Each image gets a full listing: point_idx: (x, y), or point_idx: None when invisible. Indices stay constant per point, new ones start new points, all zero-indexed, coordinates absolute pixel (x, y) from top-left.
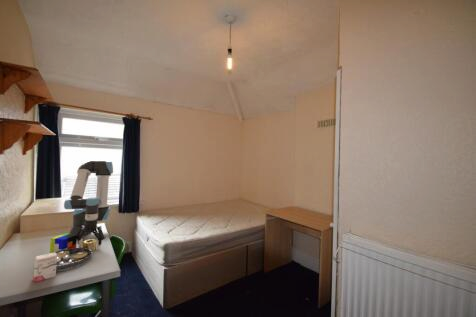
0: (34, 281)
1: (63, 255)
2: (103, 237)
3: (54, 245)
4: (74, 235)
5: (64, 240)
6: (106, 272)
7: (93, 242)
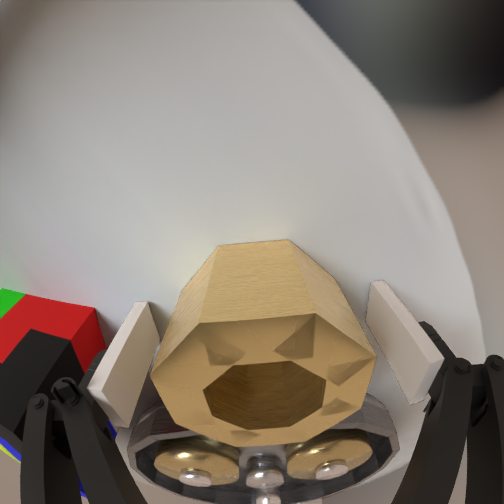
0: None
1: (233, 480)
2: (498, 383)
3: None
4: None
5: None
6: None
7: (355, 408)
